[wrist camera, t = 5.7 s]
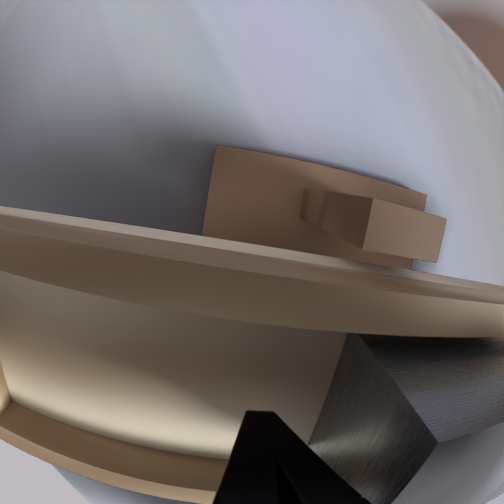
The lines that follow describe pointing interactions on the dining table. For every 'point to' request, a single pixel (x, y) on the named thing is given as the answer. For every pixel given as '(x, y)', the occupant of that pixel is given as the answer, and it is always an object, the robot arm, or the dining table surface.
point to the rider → (416, 419)
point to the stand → (317, 210)
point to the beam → (187, 342)
